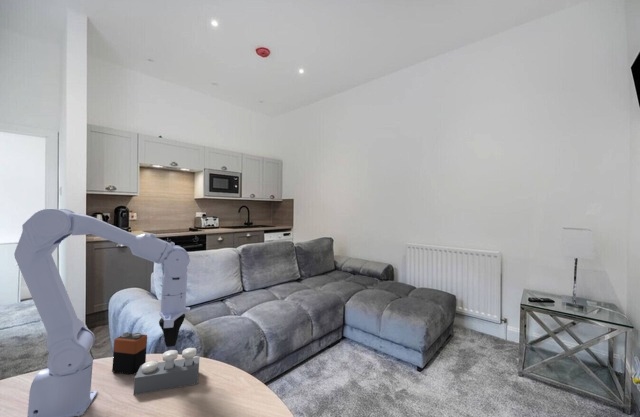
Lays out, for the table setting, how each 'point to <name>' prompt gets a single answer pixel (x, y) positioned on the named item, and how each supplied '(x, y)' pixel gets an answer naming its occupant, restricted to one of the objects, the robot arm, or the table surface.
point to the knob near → (149, 366)
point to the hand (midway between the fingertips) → (170, 345)
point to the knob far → (189, 356)
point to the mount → (167, 377)
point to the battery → (129, 353)
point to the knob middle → (170, 358)
